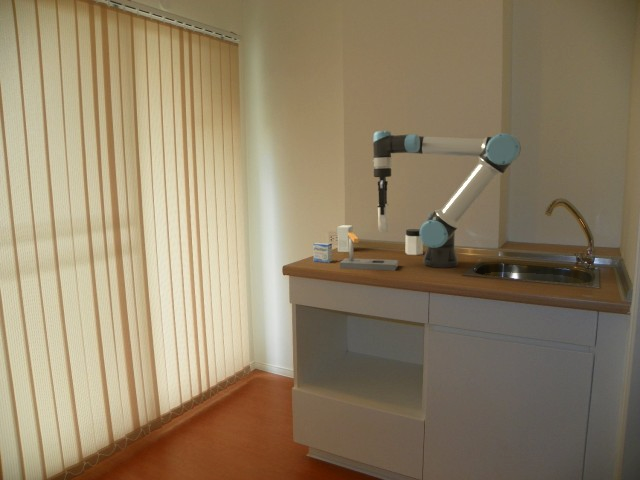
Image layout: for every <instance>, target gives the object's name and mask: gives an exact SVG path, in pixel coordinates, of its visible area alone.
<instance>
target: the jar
mask: <svg viewBox="0 0 640 480" xmlns="http://www.w3.org/2000/svg"><path fill="white" fill-rule="evenodd" d="M419 231H420V228H409V229H406V230H405V238H404V239H405V241H404V242H405V244H404V245H405V249H404V250H405V251H404V252H405V254H406V255H408V256H409V255H410V256H418V255H423V253H424V243H423V242H422V241H421V239H420V235H419Z"/></svg>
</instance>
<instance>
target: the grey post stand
mask: <svg viewBox="0 0 640 480" xmlns="http://www.w3.org/2000/svg"><path fill="white" fill-rule="evenodd" d="M348 255H349V257H345V258H343V260H341V261H340V262H339V269H347V270H348V269H349V270H350V269H351V270H366V271H367V270H369V271H371V270H372V271H390V272H391V271H393V272H395V271H396V270H397V268H398V267H399V259H375V258H354V242H353V241H352V239H351V238H350V237H349V252H348Z"/></svg>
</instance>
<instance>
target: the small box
mask: <svg viewBox="0 0 640 480" xmlns="http://www.w3.org/2000/svg"><path fill="white" fill-rule="evenodd" d="M353 226H354V225H350V224H345V225H344V224H342V225H339V226H337V228H336V229H337V230H336V231H337V236H336V237H337V252H338V253H339V252H340V253H341V252H342V253H349V237H348V233H354V227H353Z"/></svg>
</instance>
